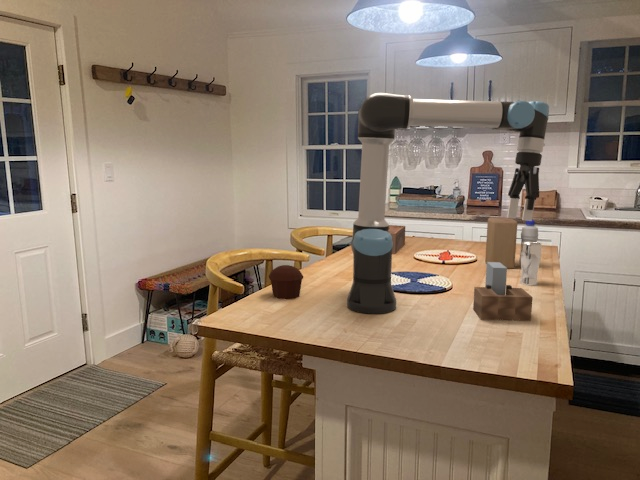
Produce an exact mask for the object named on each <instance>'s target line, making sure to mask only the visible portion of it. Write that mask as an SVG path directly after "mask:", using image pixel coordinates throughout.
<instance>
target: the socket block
mask: <svg viewBox="0 0 640 480" xmlns="http://www.w3.org/2000/svg"><path fill="white" fill-rule="evenodd" d="M472 309H473V311H474V312H475V314H476V315H477V317H478V318H479V319H480V320H481V321H512V320H514V321H513V322H515V321H519V322H520V321H523V322H531V320H532V310H533V296H532V295H530V294H529V293H528V292H527V291H526V290H525V289H524V288H522V287H512V285H511V284H506V291H505V295H497V294H496V293H495V292H494V291H493V290H492V289H491V285H486V287H485V286H482V287H481V286H474V291H473V307H472Z"/></svg>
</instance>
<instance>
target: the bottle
mask: <svg viewBox="0 0 640 480" xmlns="http://www.w3.org/2000/svg"><path fill="white" fill-rule="evenodd" d="M520 240H521V243H520V247H521V246H522V242H537V241H538V240H539V227H537V226H535V220H534V219H532V221H525V225H524V226H522V229H521V233H520ZM519 266H520V267H521V261H520V259H519Z"/></svg>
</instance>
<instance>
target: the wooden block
mask: <svg viewBox="0 0 640 480" xmlns="http://www.w3.org/2000/svg"><path fill="white" fill-rule="evenodd" d="M517 233H518V221H517V220H515V218H508V217H488V219H487V226H486V240H485V241H486V243H485V245H486V246H485V260H484V262H485V264H486V265H487V262H500V263H501V264H503V265H504V266H505V267H506V268H507V270H509V269H511V270H512V269H515V267H516V266H515V265H516V264H515V262H516V252H517V251H516V249H517Z"/></svg>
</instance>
